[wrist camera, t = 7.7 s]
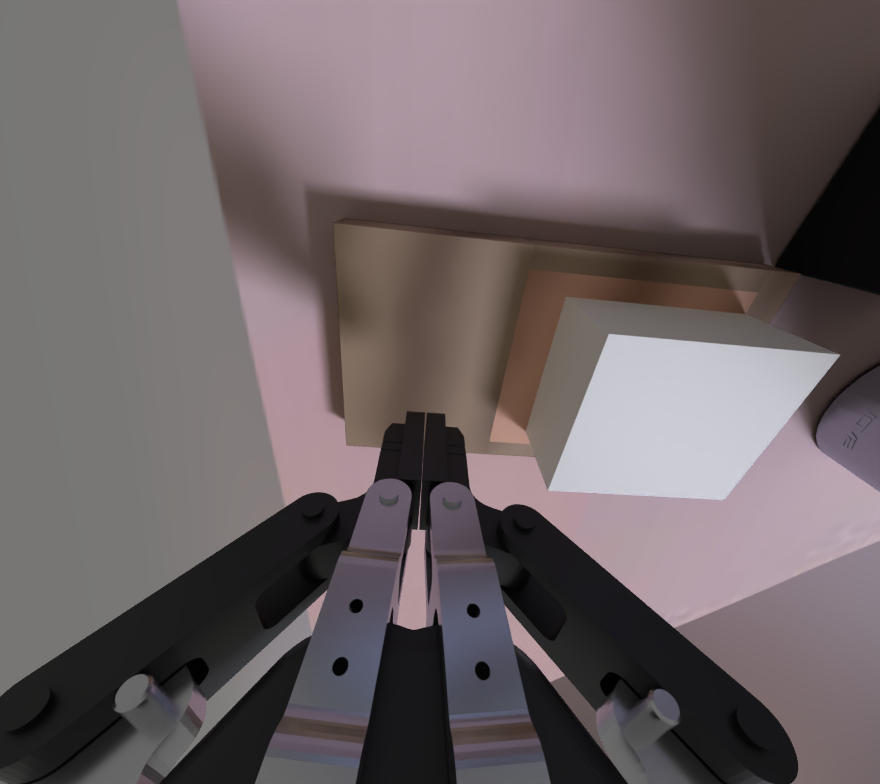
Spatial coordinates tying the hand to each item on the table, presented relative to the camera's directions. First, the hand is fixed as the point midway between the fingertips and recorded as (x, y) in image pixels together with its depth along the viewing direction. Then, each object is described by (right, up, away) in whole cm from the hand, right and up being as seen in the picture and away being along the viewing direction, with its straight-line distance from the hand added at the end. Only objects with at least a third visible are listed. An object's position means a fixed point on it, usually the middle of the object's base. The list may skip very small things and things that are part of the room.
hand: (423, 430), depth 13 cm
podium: (+6, +4, +6) cm, 9 cm away
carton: (+11, +2, +5) cm, 12 cm away
